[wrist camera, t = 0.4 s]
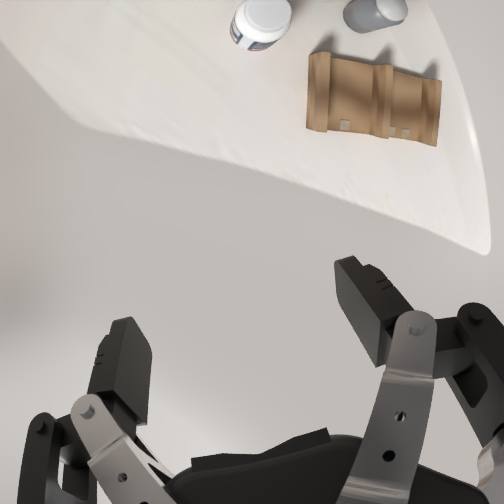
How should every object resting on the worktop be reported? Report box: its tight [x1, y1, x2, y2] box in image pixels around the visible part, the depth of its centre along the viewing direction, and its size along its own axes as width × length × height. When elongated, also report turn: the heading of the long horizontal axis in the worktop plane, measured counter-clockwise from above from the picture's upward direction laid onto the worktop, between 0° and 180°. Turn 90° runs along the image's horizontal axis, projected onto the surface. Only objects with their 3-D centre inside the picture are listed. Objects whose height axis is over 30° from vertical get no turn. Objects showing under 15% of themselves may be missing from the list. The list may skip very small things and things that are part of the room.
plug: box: [343, 0, 408, 33], centre depth 24 cm, size 4×4×8 cm
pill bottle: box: [230, 0, 292, 51], centre depth 24 cm, size 5×5×9 cm
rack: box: [306, 51, 442, 147], centre depth 31 cm, size 9×17×4 cm, turn 89°
